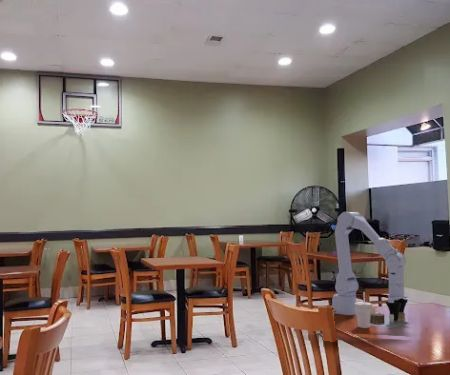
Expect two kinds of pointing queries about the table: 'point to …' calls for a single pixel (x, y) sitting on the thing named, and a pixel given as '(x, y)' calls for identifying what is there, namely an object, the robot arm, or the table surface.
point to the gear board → (388, 322)
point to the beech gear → (401, 317)
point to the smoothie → (363, 313)
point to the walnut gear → (377, 318)
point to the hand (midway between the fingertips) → (397, 318)
